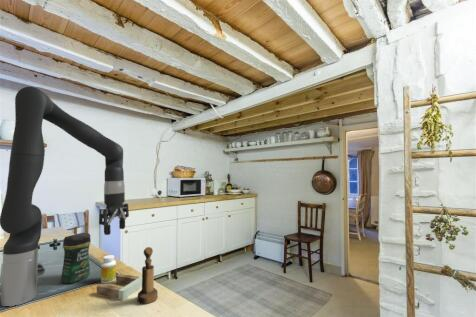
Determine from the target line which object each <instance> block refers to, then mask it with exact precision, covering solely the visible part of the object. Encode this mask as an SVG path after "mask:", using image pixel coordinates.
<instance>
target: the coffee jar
mask: <svg viewBox="0 0 476 317" xmlns="http://www.w3.org/2000/svg"><path fill="white" fill-rule="evenodd" d="M91 240H92V239H91V234H90V233H89V232H81V233H80V232H79V233H77V234H76V233H75V234H72V235H69V236H65V237H64V238H63V243H62V248H63V251H64V256H63V265H62V271H61V278H60V280H61V282H62V283H64V284H74V283H77V282H79V281H82V280H84V279H87V278H88V277H89V276H90V274H91V272H90V271H91V270H90V269H91V268H90V267H91V266H90V256H89V254H90V253H89V251H90V250H89V249H90V245H91V242H92V241H91Z"/></svg>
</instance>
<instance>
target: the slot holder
mask: <svg viewBox="0 0 476 317" xmlns="http://www.w3.org/2000/svg"><path fill="white" fill-rule="evenodd" d="M115 283H116V284H118V285H124V286H122V287H121V286H116V285H111V284H107V283H100V284H98V285H97V286H96V295H99V296H104V297H107V298H112V299H118V300H125V299H126V298H128V297H129V296H131V295H132V294H134V293H135V292H137V291H138V290H140V289H142V276H137V275H136V276H135V275H130V274H126V273H124V274H123V273H119V274H116V279H115Z"/></svg>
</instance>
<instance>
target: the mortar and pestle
mask: <svg viewBox="0 0 476 317" xmlns="http://www.w3.org/2000/svg"><path fill="white" fill-rule="evenodd" d="M153 252H154V251H153V248H152V247H150V246H148V247H145V249H144V250H143V255H144V256H145V260H144V264H145V266H142V268H141V271H142V272H141V277H142V287H141V290H140V291H138V292H137V302H138V304H141V305H147V304H151V303H154V302H155V301H157V300H158V297H159V296H158V290H157V289H156V288H155V287H154V284H155V283H154V279H155V274H154V273H155V266H154V265H152V259H151V257H152V255H153Z"/></svg>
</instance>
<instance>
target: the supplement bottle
mask: <svg viewBox="0 0 476 317" xmlns="http://www.w3.org/2000/svg"><path fill="white" fill-rule="evenodd" d="M102 258H103V259H102V261H103V262H101V265H100V266H101V267H100V282H101V284H109V283H112V282H114V281H116V276H117V271H116V270H117V261H116V260H115V255H114V254H109V255H104V256H103V257H102Z"/></svg>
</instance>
